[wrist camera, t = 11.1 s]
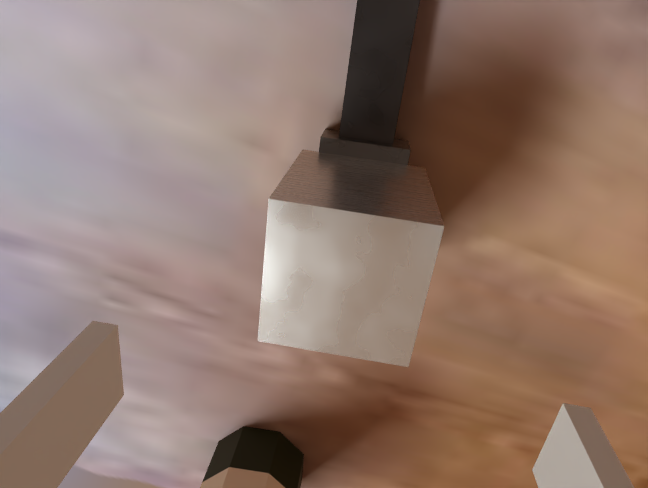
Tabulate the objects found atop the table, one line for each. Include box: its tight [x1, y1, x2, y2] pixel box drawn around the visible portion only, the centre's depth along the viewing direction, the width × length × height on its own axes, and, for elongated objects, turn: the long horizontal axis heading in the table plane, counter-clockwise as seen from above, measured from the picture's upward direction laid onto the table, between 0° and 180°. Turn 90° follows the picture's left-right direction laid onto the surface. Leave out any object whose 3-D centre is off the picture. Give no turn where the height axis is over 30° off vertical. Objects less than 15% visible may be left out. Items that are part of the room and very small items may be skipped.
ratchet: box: [319, 0, 420, 165], centre depth 26 cm, size 19×5×6 cm, turn 173°
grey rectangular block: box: [258, 150, 444, 367], centre depth 24 cm, size 7×7×9 cm
